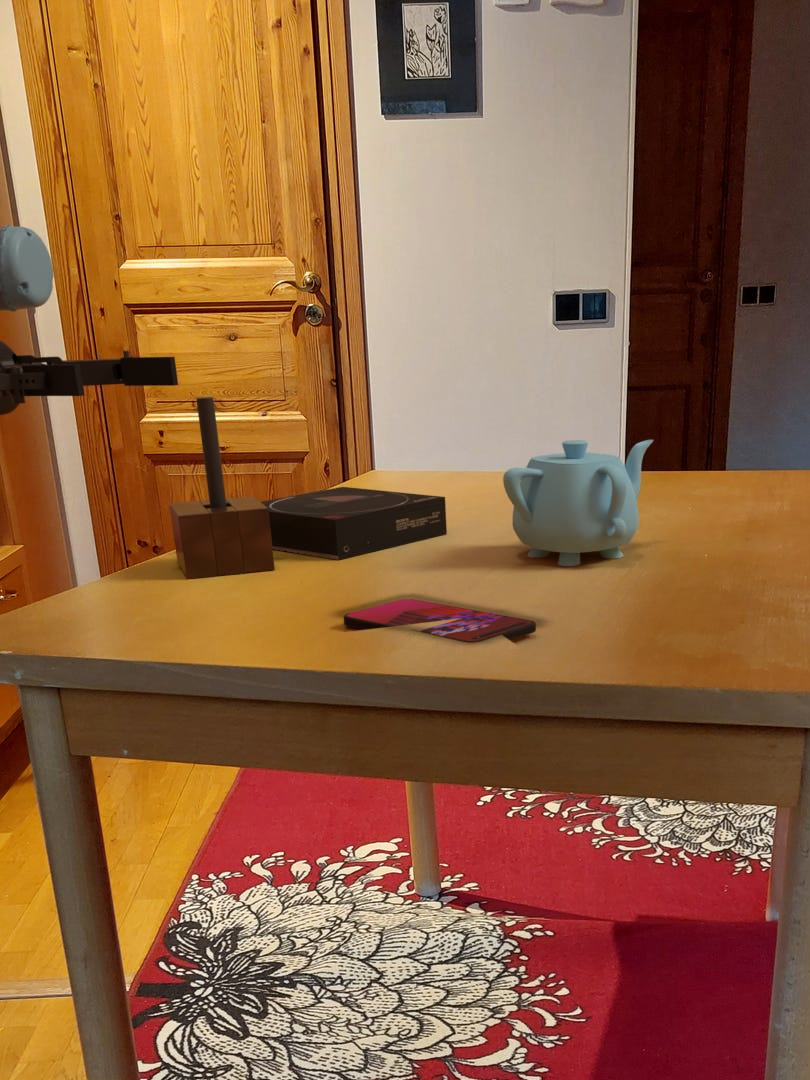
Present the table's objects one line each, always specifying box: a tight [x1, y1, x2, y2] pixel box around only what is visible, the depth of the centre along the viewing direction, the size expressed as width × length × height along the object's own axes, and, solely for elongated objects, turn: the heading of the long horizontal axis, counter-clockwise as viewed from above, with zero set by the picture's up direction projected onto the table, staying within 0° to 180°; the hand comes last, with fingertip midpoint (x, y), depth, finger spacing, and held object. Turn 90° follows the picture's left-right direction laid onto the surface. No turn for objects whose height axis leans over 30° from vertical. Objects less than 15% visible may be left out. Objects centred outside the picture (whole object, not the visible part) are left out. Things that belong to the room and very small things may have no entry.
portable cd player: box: [260, 486, 448, 561], centre depth 129 cm, size 16×17×4 cm
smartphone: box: [343, 598, 537, 644], centre depth 92 cm, size 8×1×15 cm
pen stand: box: [168, 495, 276, 580], centre depth 117 cm, size 9×9×6 cm
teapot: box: [502, 439, 654, 567], centre depth 116 cm, size 13×14×11 cm
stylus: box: [195, 396, 227, 508], centre depth 115 cm, size 2×2×16 cm
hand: (129, 375), depth 114 cm, fingers open, 13 cm apart
